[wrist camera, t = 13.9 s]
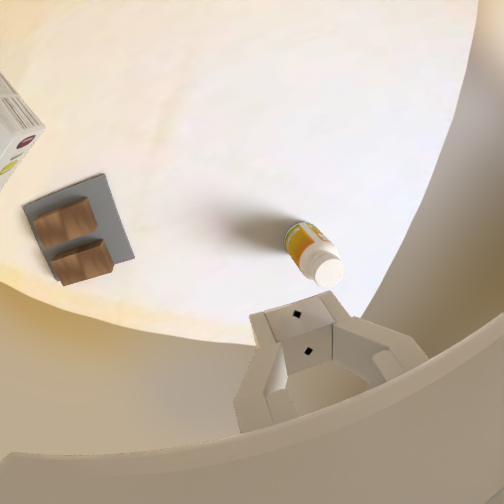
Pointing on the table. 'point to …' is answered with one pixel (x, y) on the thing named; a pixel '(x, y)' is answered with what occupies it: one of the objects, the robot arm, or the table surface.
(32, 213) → the slate rubber mat
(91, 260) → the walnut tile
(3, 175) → the supplement box
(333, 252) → the supplement bottle
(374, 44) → the table surface
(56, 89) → the table surface
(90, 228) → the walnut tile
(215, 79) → the table surface
